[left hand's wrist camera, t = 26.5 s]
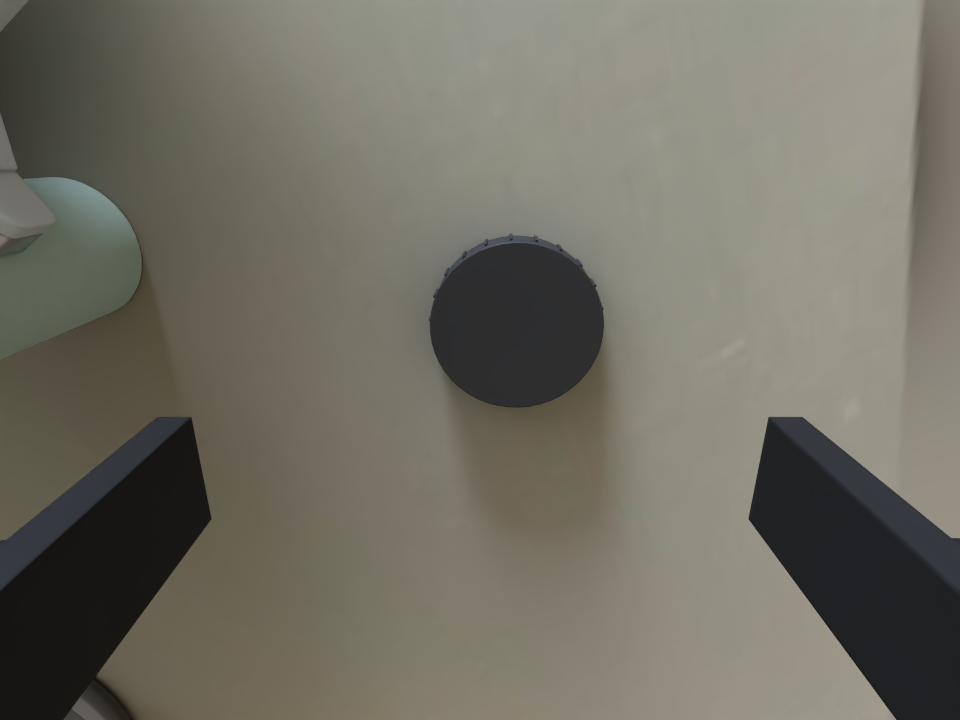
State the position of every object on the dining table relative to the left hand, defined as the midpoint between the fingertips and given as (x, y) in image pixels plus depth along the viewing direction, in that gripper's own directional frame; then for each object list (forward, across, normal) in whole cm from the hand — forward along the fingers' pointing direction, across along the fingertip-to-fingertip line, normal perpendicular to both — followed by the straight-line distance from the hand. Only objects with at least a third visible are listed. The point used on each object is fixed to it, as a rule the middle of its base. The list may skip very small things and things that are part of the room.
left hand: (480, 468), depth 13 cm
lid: (+10, -1, -1) cm, 10 cm away
